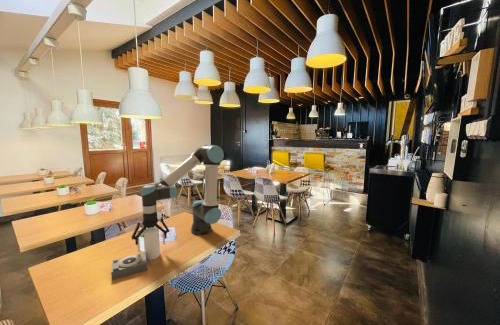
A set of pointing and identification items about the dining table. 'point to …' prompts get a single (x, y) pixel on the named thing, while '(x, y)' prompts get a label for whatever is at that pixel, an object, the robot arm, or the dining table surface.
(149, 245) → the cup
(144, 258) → the camera body
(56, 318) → the dining table surface
